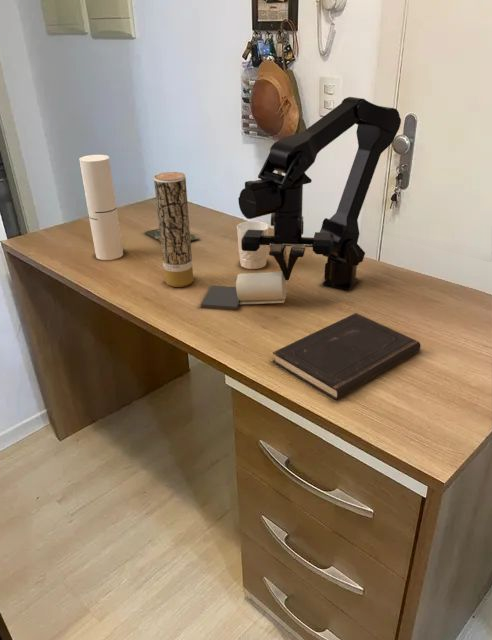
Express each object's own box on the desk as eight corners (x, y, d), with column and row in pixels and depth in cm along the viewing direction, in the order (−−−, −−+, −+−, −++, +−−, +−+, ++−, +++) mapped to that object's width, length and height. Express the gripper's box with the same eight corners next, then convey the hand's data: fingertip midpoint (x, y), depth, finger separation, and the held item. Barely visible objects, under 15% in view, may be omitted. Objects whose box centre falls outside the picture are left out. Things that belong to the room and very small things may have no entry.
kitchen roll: (287, 292, 125) (284, 267, 122) (283, 304, 120) (280, 278, 117) (244, 294, 127) (240, 269, 124) (238, 306, 122) (234, 280, 119)
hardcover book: (272, 362, 103) (272, 351, 102) (354, 322, 115) (355, 312, 114) (337, 401, 93) (338, 390, 91) (419, 352, 105) (421, 342, 104)
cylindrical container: (119, 260, 146) (105, 161, 132) (92, 260, 146) (75, 161, 132) (125, 249, 152) (112, 154, 138) (99, 250, 152) (83, 154, 138)
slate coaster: (245, 290, 129) (245, 287, 129) (236, 310, 121) (236, 306, 120) (212, 288, 130) (211, 285, 130) (201, 307, 122) (200, 304, 122)
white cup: (256, 273, 137) (255, 234, 132) (231, 265, 142) (230, 227, 136) (274, 262, 143) (275, 224, 137) (250, 256, 147) (249, 219, 141)
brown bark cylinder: (188, 289, 130) (179, 180, 117) (161, 287, 131) (149, 179, 118) (197, 277, 136) (189, 172, 122) (170, 275, 137) (159, 171, 123)
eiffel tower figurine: (143, 233, 162) (137, 187, 155) (173, 226, 168) (169, 181, 160) (168, 248, 152) (163, 199, 145) (200, 240, 157) (196, 192, 150)
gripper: (336, 198, 117) (332, 267, 125) (249, 195, 120) (251, 263, 128) (333, 214, 108) (329, 288, 116) (239, 211, 111) (242, 283, 119)
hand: (287, 279), depth 120 cm, fingers closed
